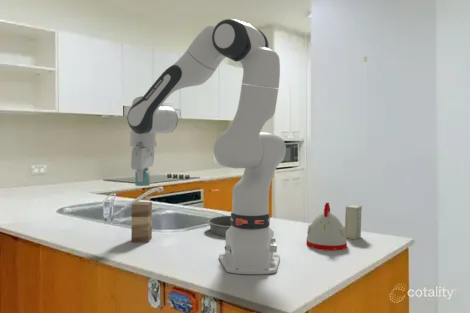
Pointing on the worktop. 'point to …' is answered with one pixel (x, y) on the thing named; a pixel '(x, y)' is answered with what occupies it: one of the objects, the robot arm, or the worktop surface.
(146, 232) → the tower block
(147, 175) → the teal cube
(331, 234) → the kitchen timer
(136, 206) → the tower block
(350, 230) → the skincare box
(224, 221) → the cake pan
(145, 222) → the tower block
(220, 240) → the worktop surface
